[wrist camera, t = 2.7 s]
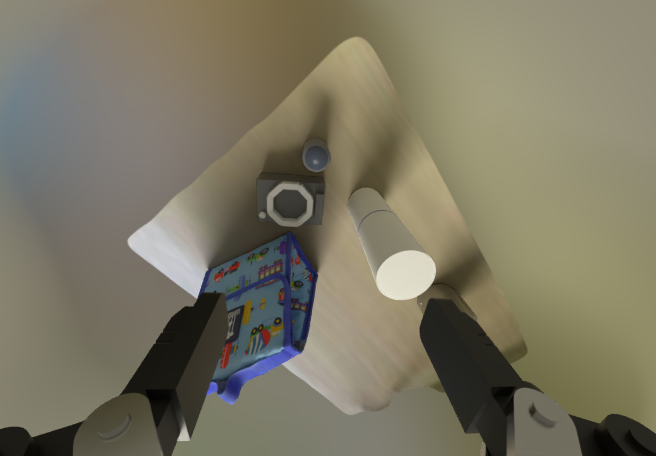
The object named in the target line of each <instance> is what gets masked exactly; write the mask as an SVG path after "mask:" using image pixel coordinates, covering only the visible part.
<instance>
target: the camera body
mask: <svg viewBox="0 0 656 456" xmlns="http://www.w3.org/2000/svg"><path fill="white" fill-rule="evenodd" d="M256 182H257V215H258V221H261V222H277V223H278V224H279V225H281V226H290V227H298V226H300V225H302V224H314V225H322V216H323V204H324V192H325V181H324V177H314V176H300V175H287V174H273V173H261V174H260V175H259V177H258V178H257V179H256Z"/></svg>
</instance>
